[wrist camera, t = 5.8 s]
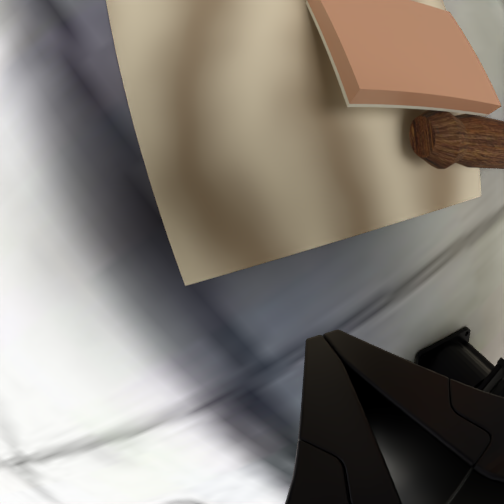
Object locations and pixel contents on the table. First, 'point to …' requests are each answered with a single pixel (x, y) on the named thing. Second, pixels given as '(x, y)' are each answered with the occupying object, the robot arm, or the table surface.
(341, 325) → the table surface
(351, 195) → the board
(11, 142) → the table surface
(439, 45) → the tile
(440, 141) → the meat cleaver
